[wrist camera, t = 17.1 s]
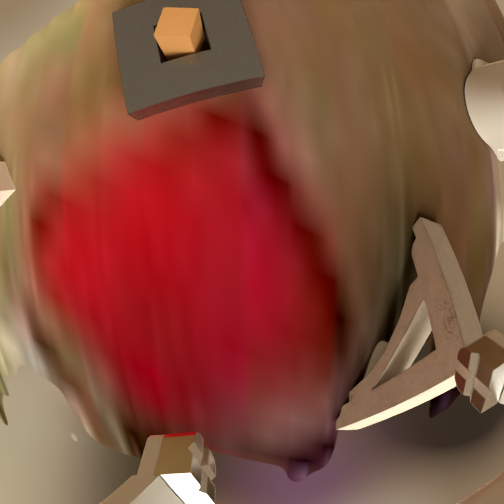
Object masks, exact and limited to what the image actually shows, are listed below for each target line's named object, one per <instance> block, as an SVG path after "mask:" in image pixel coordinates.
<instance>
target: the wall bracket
mask: <svg viewBox="0 0 504 504" xmlns="http://www.w3.org/2000/svg"><path fill="white" fill-rule="evenodd" d="M412 229H413V231H414V234H415V236H416V239H415V241H414V243H413V246H412V259H413V262H414V265H415V268H416V271H417V275H418V277H417V278H416V279H415V280H414V281H413V283H412V284H411V285H410V287H409V290H408V293H407V297H406V300H405V303H404V306H403V309H402V312H401V315H400V318H399V321H398V323H397V325H396V328H395V330H394V332H393V334H392V336H391V338H390V340H389V343H388V345H387V347H386V349H385V351H384V353H383V354H382V356H381V357H380V358H379V360H378V361H377V363H376V364H375V366H374V367H373V368H372V370H371V371H370V373H369V374H368V375H367V376H366V377H365V378H364V379H363V380H362V381H361V382H360V383H359V384H357V385H356V386H355V387H354V388H353V389H352V390H351V391H350V392H349V402H348V403H346V404H344V405H343V406H342V408H341V413H340V415H339V418H338V419H337V420H336V430H357V429H360V428H363V427H366V426H369V425H371V424H374V423H377V422H379V421H382V420H384V419H387V418H390V417H392V416H394V415H397V414H399V413H402V412H404V411H406V410H408V409H411V408H413V407H415V406H417V405H419V404H422V403H424V402H426V401H428V400H430V399H432V398H434V397H436V396H438V395H440V394H442V393H444V392H446V391H448V390H450V389H452V388H453V387H455V386H456V382H455V370H456V368H457V367H458V365H459V363H460V362H459V361H458V360H457V356H458V352H459V350H460V348H462V347H464V346H466V345H468V344H469V343H471V342H473V341H475V340H476V339H478V338H480V337H482V336H483V334H482V331H481V327H480V324H479V321H478V317H477V314H476V311H475V308H474V305H473V302H472V299H471V296H470V293H469V290H468V288H467V285H466V282H465V280H464V277H463V274H462V272H461V269H460V267H459V264H458V262H457V259H456V257H455V255H454V252H453V250H452V248H451V245H450V243H449V241H448V239H447V236H446V234H445V232H444V230H443V228H442V226H441V225H440V224H438V223H435V222H433V221H430V220H428V219H425V218H422V217H419V219H418V220H417V222H416V223H415V224H414V226H413V228H412ZM431 330H432V332H433V336H434V341H435V346H436V350H435V351H433V352H432V353H430V354H429V355H428V356H426V357H425V358H423V359H422V360H420V361H419V362H417V363H416V364H414V365H413V366H411V364H412V362H413V361H414V359H415V358H416V356H417V355H418V353H419V351H420V349H421V348H422V346H423V344H424V342H425V341H426V339H427V338H428V336H429V334H430V332H431ZM410 366H411V367H410Z"/></svg>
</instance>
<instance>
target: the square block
mask: <svg viewBox="0 0 504 504" xmlns="http://www.w3.org/2000/svg"><path fill="white" fill-rule="evenodd" d="M154 37H155V39H156V40H157V42H158V44H159V46H160V48H161V49H162V51H163V53H164V55H165V57H166V58H167V60H168V61H170V60H173V59H177V58H180V57H184V56H187V55H191V54H194V53H198V52H201V50H202V46H203V43H204V39H205V38H204V33H203V28H202V22H201V17H200V12H199V8H174V7H164V8H163V10H162V13H161V16H160V18H159V21H158V24H157V27H156V30H155V33H154Z"/></svg>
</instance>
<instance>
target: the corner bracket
mask: <svg viewBox="0 0 504 504" xmlns="http://www.w3.org/2000/svg"><path fill="white" fill-rule="evenodd" d="M15 190H16V189H15V186H14V184H13V181H12V179H11V176H10V173H9V171H8V168H7V165H6V162H1V161H0V206H1V205H2V204H3V203H4V202H5V201H6V199H7V198H8V197H9V196H10V195H11V194H12V193H13V192H14V191H15Z"/></svg>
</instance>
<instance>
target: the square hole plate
mask: <svg viewBox="0 0 504 504" xmlns="http://www.w3.org/2000/svg"><path fill="white" fill-rule="evenodd" d="M164 7H174V8H199V12H200V17H201V22H202V27H204V29H205V32H206V36H207V40H208V43H209V47H210V50H206V51H202V52H198V53H194V54H191V55H187V56H184V57H180V58H177V59H173V60H170V61H167V62H165V60H164V55H163V51H162V49H161V48H160V46H159V44H158V42H157V40H156V39H155V37H154V33H155V30H156V27H157V24H158V21H159V18H160V16H161V13H162V10H163V8H164ZM112 15H113V24H114V32H115V40H116V47H117V54H118V61H119V67H120V74H121V80H122V85H123V91H124V97H125V102H126V107H127V112H128V114H129V115H130V116H132V117H133V118H135V119H137V120H141V119H144V118H146V117H149V116H152V115H155V114H158V113H161V112H164V111H167V110H170V109H174V108H177V107H180V106H184V105H187V104H190V103H194V102H198V101H201V100H205V99H209V98H213V97H216V96H220V95H225V94H229V93H233V92H238V91H242V90H247V89H252V88H257V87H262V84H263V80H264V77H265V75H264V72H263V68H262V65H261V62H260V59H259V55H258V52H257V49H256V46H255V43H254V39H253V36H252V33H251V30H250V27H249V24H248V21H247V18H246V15H245V12H244V9H243V6H242V4H241V1H240V0H145V1H142V2H140V3H137V4H134V5H131V6H129V7H126V8H123V9H121V10H118V11H116V12H114V13H112Z"/></svg>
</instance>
